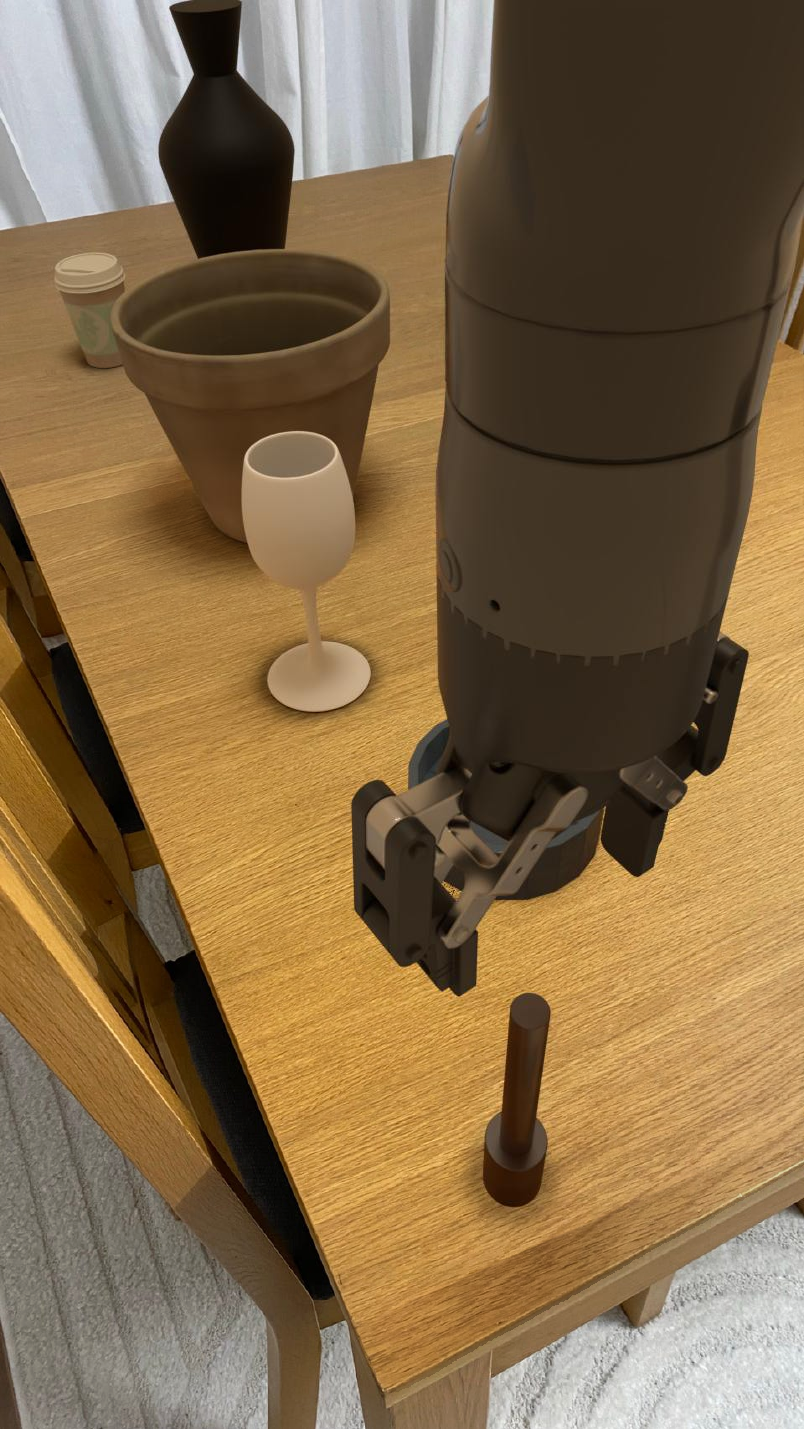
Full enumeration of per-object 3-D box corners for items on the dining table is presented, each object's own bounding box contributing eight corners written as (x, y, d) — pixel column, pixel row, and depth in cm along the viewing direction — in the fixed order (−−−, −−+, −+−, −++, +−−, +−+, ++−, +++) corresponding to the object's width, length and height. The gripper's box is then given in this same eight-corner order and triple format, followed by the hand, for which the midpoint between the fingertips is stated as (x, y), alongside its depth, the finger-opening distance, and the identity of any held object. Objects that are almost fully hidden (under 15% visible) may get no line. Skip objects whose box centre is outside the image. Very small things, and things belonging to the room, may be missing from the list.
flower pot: (139, 474, 108) (88, 270, 93) (352, 427, 114) (337, 228, 99) (188, 604, 92) (135, 381, 76) (435, 541, 97) (432, 322, 82)
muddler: (553, 1183, 54) (584, 1017, 41) (507, 1220, 53) (525, 1061, 40) (515, 1135, 56) (534, 963, 43) (470, 1169, 55) (476, 1002, 42)
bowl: (638, 844, 70) (649, 788, 66) (489, 942, 65) (492, 887, 61) (515, 736, 78) (519, 679, 74) (374, 815, 73) (369, 759, 69)
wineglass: (390, 666, 84) (378, 443, 70) (329, 727, 79) (301, 501, 65) (310, 631, 88) (282, 412, 73) (246, 687, 83) (202, 465, 68)
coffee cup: (64, 358, 130) (37, 264, 121) (122, 338, 134) (99, 245, 125) (97, 379, 125) (71, 283, 117) (155, 358, 129) (134, 262, 121)
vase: (200, 284, 146) (149, -6, 122) (315, 281, 145) (288, -11, 121) (176, 334, 134) (114, 23, 110) (302, 331, 133) (268, 17, 109)
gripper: (448, 759, 20) (449, 1104, 32) (883, 520, 26) (752, 886, 37) (268, 584, 25) (325, 941, 36) (672, 412, 31) (612, 768, 42)
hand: (541, 913), depth 37 cm, fingers open, 8 cm apart
